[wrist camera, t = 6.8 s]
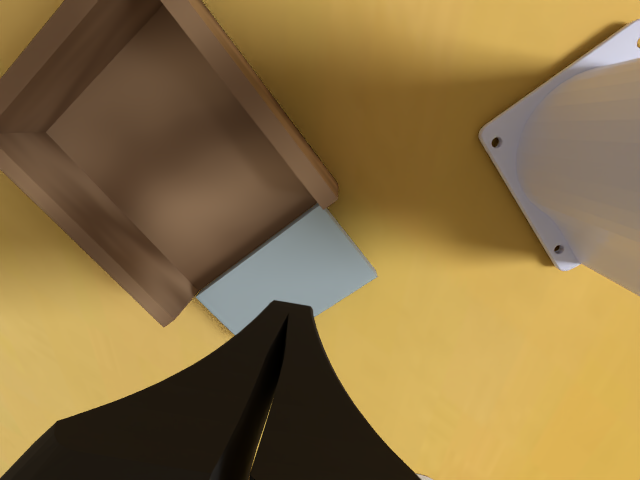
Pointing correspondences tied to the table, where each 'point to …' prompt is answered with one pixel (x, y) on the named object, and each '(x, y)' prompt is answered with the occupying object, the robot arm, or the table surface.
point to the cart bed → (153, 145)
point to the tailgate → (290, 271)
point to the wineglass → (423, 477)
